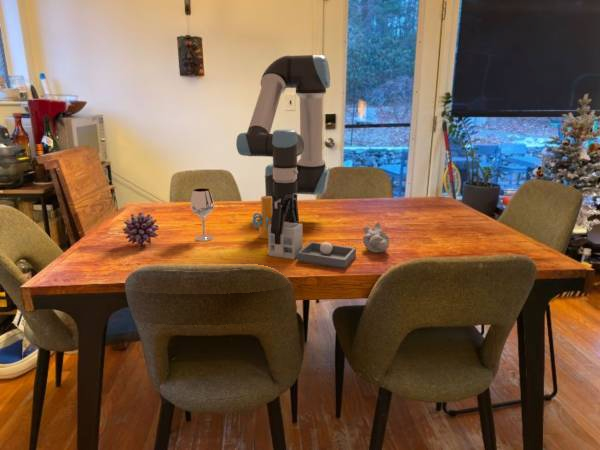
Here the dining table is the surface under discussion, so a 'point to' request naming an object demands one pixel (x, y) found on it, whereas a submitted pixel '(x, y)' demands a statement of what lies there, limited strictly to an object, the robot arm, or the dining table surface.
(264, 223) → the orange and blue piece
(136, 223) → the purple spiky ball
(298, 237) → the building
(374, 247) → the figurine
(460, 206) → the dining table surface
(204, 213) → the wineglass
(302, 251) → the tray
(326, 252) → the ball
